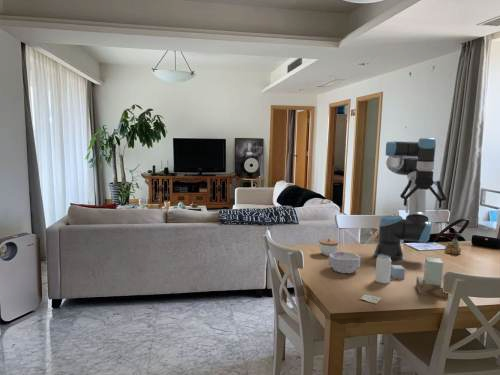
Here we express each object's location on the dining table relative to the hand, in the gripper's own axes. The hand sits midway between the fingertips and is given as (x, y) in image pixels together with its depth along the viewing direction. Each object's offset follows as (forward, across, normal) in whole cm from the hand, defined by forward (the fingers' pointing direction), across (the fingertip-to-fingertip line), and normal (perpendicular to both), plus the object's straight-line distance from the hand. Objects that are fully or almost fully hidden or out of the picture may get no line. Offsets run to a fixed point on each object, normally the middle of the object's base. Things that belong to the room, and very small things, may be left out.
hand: (421, 213), depth 181 cm
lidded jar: (+30, -45, +14) cm, 56 cm away
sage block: (+25, +3, -25) cm, 36 cm away
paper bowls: (+30, -35, -10) cm, 48 cm away
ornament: (+31, +25, +43) cm, 59 cm away
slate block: (+30, -10, -11) cm, 33 cm away
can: (+30, -17, -20) cm, 40 cm away
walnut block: (+29, +3, -25) cm, 39 cm away
